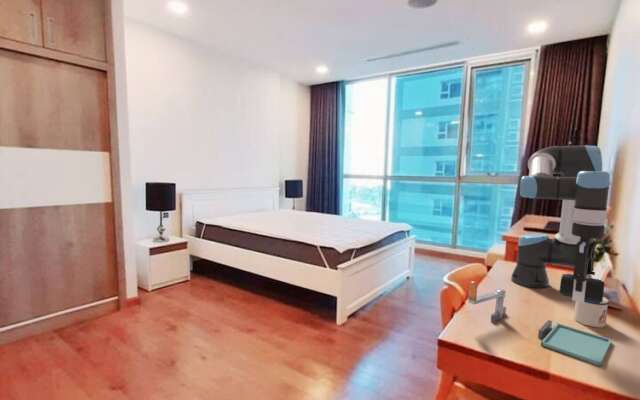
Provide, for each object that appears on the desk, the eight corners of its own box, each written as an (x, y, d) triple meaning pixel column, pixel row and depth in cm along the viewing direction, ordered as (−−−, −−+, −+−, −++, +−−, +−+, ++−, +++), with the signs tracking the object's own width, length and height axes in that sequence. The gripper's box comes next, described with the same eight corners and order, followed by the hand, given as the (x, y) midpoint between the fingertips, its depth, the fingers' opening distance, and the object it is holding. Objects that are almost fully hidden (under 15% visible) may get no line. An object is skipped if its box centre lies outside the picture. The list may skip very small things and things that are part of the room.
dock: (500, 312, 124) (502, 292, 123) (551, 328, 112) (553, 305, 111) (488, 320, 116) (490, 299, 116) (541, 338, 105) (543, 315, 104)
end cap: (558, 297, 101) (561, 276, 100) (561, 291, 106) (563, 270, 106) (601, 307, 94) (604, 284, 94) (602, 300, 100) (605, 278, 99)
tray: (557, 326, 113) (557, 323, 113) (611, 343, 103) (611, 339, 103) (540, 345, 101) (541, 341, 100) (600, 366, 90) (600, 362, 90)
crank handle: (507, 296, 118) (508, 276, 117) (474, 306, 109) (475, 284, 108) (498, 293, 121) (499, 273, 120) (465, 303, 112) (467, 281, 111)
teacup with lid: (605, 331, 111) (609, 297, 110) (571, 322, 117) (574, 290, 116) (607, 319, 120) (610, 288, 118) (575, 311, 126) (578, 281, 125)
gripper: (580, 218, 108) (573, 286, 110) (564, 225, 94) (557, 302, 96) (610, 221, 102) (602, 293, 104) (598, 228, 89) (590, 311, 91)
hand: (581, 297), depth 100 cm, fingers closed on end cap, 7 cm apart
